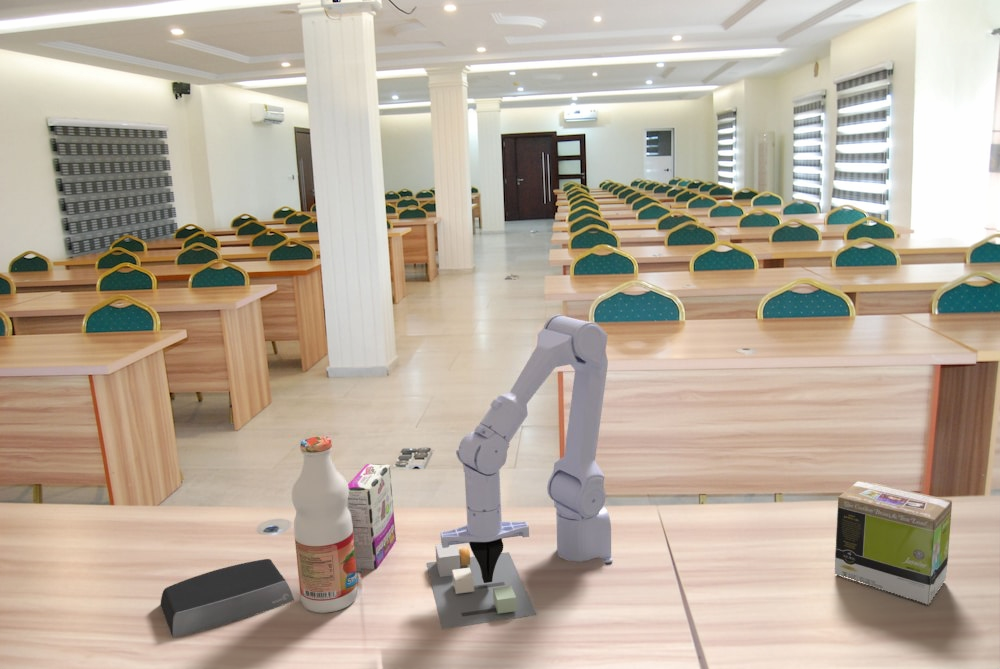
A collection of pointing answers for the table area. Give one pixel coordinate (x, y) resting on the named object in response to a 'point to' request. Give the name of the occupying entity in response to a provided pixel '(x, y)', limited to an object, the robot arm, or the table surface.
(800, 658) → the table surface
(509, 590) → the sage slider
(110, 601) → the table surface
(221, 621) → the external hard drive
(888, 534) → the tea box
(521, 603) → the control panel
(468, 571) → the off-white slider
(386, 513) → the candy bar box
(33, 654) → the table surface
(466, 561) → the orange button
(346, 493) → the fruit juice
